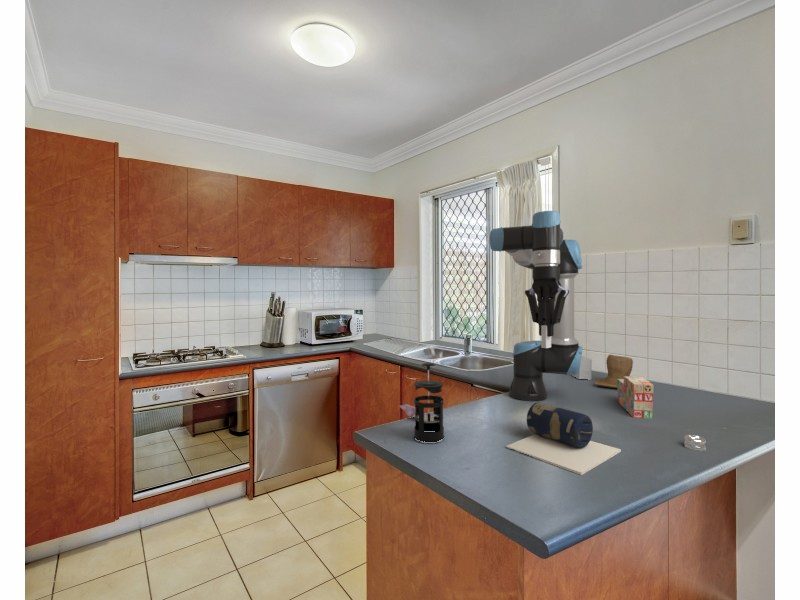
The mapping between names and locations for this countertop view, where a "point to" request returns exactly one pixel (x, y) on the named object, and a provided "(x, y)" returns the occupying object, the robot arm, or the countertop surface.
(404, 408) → the rabbit figure
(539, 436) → the mat
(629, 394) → the stack of blocks
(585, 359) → the skincare box
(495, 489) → the countertop surface
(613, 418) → the countertop surface
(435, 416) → the french press
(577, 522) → the countertop surface
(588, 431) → the canister
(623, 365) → the brown wooden stand
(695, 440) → the grooved metal pulley
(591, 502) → the countertop surface
